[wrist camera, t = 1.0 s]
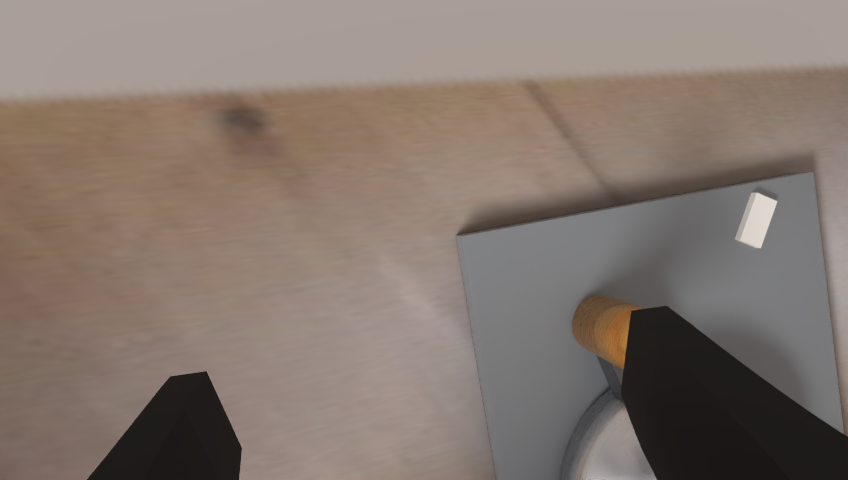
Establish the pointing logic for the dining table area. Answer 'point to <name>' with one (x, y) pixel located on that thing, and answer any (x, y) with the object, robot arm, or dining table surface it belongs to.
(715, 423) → the robot arm
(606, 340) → the crank wheel
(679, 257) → the stand
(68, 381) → the dining table surface
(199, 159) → the dining table surface
